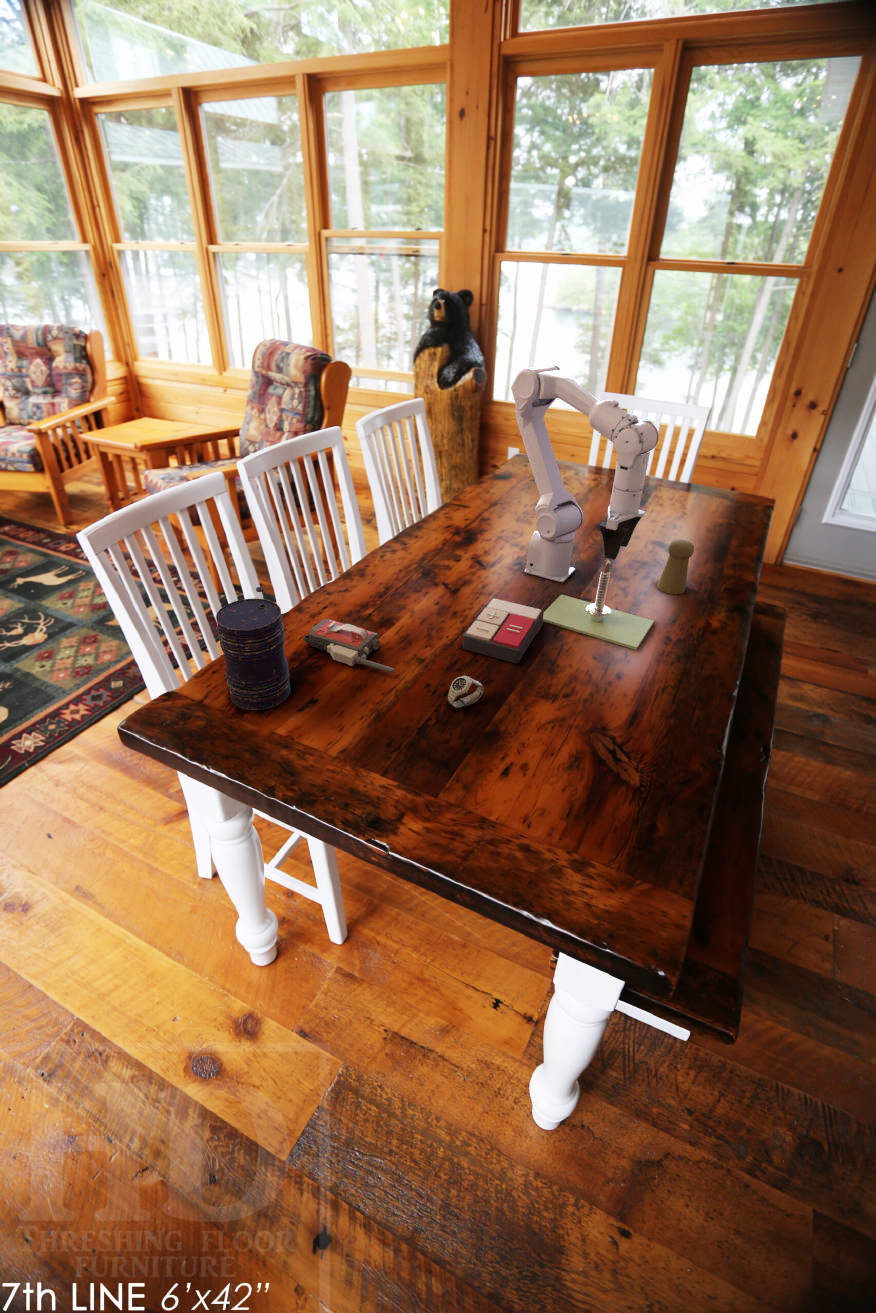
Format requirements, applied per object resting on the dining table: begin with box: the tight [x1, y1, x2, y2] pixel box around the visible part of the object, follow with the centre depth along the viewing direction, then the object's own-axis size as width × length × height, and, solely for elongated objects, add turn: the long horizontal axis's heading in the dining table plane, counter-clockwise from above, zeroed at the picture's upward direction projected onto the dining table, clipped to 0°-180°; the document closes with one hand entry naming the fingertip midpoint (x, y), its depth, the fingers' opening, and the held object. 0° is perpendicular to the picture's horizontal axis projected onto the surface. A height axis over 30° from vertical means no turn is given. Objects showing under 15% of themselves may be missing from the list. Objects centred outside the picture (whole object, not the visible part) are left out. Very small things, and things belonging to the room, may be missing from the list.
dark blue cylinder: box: [215, 586, 291, 711], centre depth 102 cm, size 10×10×18 cm
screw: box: [586, 559, 612, 622], centre depth 126 cm, size 13×5×5 cm
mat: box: [543, 594, 655, 651], centre depth 129 cm, size 20×12×1 cm, turn 59°
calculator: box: [462, 598, 545, 664], centre depth 122 cm, size 11×4×15 cm
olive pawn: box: [656, 538, 695, 595], centre depth 140 cm, size 6×6×11 cm
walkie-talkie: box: [302, 618, 396, 674], centre depth 116 cm, size 9×4×20 cm
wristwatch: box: [447, 675, 485, 709], centre depth 104 cm, size 4×6×5 cm, turn 119°
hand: (616, 551), depth 133 cm, fingers open, 7 cm apart
